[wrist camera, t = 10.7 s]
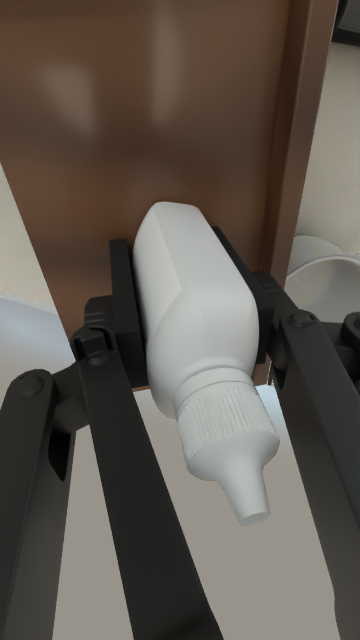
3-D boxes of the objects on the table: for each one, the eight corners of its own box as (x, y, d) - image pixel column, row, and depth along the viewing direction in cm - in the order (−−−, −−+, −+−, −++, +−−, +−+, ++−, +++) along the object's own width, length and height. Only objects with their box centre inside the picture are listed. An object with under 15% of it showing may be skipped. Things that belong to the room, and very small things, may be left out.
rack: (19, 16, 20) (-99, -42, 8) (209, 6, 21) (350, -56, 9) (93, 287, 32) (90, 419, 21) (208, 270, 34) (266, 384, 22)
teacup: (237, 317, 39) (263, 365, 33) (232, 235, 32) (263, 278, 26) (346, 288, 39) (391, 330, 33) (364, 202, 32) (426, 235, 26)
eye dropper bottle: (97, 275, 16) (96, 567, 7) (167, 180, 14) (301, 426, 5) (165, 312, 18) (231, 566, 9) (234, 236, 16) (410, 472, 7)
